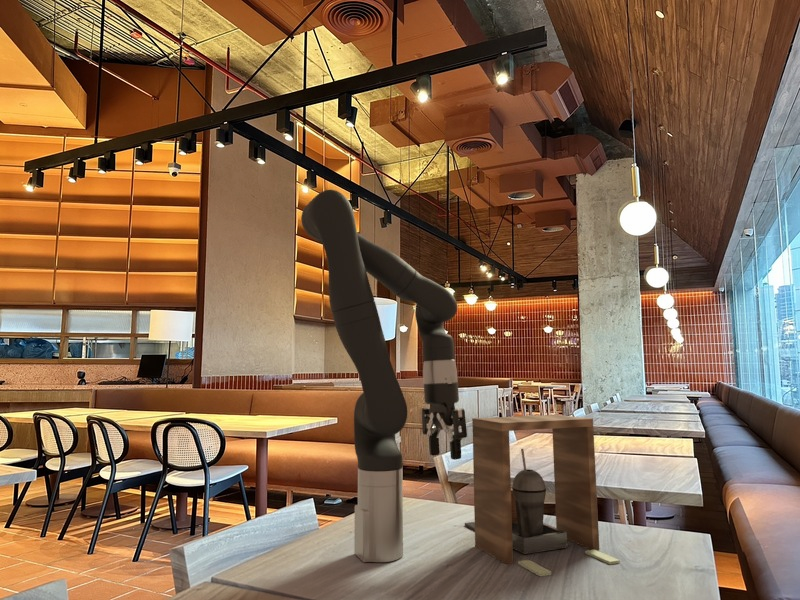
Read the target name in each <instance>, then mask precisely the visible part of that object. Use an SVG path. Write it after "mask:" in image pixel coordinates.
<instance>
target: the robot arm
mask: <svg viewBox="0 0 800 600" xmlns="http://www.w3.org/2000/svg"><path fill="white" fill-rule="evenodd" d="M354 213H355V212H354V210H353V207H352V205H351V203H350V200H348V198H347V197H346V196H345V195H344V194H343V193H342V192H340V191H338V190H336V189H325V190H323V191H320V192H319V193H318V194H317V195H315V196H314V197H313V198H312V199H311V201H309V202H308V203H307V205H306V206H305V207H304V208H303V210H302V213H301V218H300V219H301V221H300V222H301V225H302V228H303V230H304V232H306V234H307V235H308V236H309V237H311V238H312V239H313V240H315V241H317V242H319V243H320V244H322V246H323V249H324V251H325V256H326V261H327V267H328V298H329V305H330V306H329V307H330V312H331V314H332V315H331V316H332V319H333V321H334V326H335V329H336V332H337V334H338V336H339V339H340V341H341V344H342V346H343V348H344V349H345V351H346V353H347V355H348V356H349V358H350V359H351V361H352V363H353V365H354V366H355V369H356V371H357V373H358V376H359V379H360V383H361V387H362V392H363V393H361V394H360V396H358V398H357V400H356V402H355V406H354V410H353V433H354V434H353V435H354V437H353V438H354V450H355V451H354V452H355V455H356V458H357V504H355V505H354V542H353V543H354V544H353V545H354V546H353V547H354V555H355V556H357V558H359V559H360V560H361V562H363V563H367V562H369V563H371V562H372V563H387V562H392V561H396V560H399V559H400V558H402V557H403V555H404V515H403V514H404V509H403V506H404V505H403V503H404V502H403V501H404V498H403V497H404V495H403V494H404V493H403V492H404V490H403V488H404V487H403V482H404V479H403V454H402V452H401V451H400V449H399V447H398V445H397V441H396V434H399V433H400V432H401V431H402V430H403V429H404V427H405V425H406V423H407V421H408V413H409V412H408V404H407V402H406V398H405V396H404V392H403V391H402V388H401V385H400V383H399V381H398V378H397V375H396V373H395V371H394V370H395V369H394V368H393V365H392V362H391V358H390V355H389V354H390V353H389V351H388V346H387V342H386V339H385V334H384V331H383V328H382V324H381V320H380V316H379V311H378V309H377V304H376V301H375V297H374V294H373V291H372V287H371V284H370V280H369V277H368V274H369V275H370V276H371V277H372V278H374V279H375V280H377V281H378V282H379V283H380V284H381V285H383V286H384V287H385V288H386V289H387V290H389V291H390V292H391V293H392V294H394V295H395V296H396V297H398V298H399V299H400V300H401V301H404V302H413V303H415V304H416V305H415V310H414V311H415V312H414V313H415V321H416V325H417V329H418V333H419V336H420V338H421V341H422V360H423V369H422V381H423V396H424V397H423V398H424V399H423V400H424V403H425V404H426V405H429V407H423V408H422V409H421V425H422V427H421V429H422V430H421V432H422V434H423V436H424V435H426V438H427V439H428V447H429V448H428V450H429V455H430V456H433V457H434V456H438V455H440V453H441V452H440V451H441V450H440V439H439V436H440V433H441V431H442V430H443V432H444V433H446V434H447V436H448V439H449V451H450V459H451V460H461V458H462V443H461V442H462V440H463V439H465V438H467V437H468V430H467V421H466V420H467V419H466V410H465V409H464V408H456V406H455V404H457V403H458V402H459V400H460V398H459V397H460V395H459V382H458V370H457V364H456V355H455V342H454V338H453V337H452V335H450V334H449V333H446V329H445V326H444V323H446V322H449V321H450V320H452V319H453V318H455V316H456V315H457V312H458V302H457V300H456V298H455V296H454V295H453V294H452V293H451V291H449V290H448V289H447V288H445V287H444V286H442V285H441V284H438V283H437V282H435V281H434V280H432V279H429V278H427V277H425V276H423V275H422V274H420V273H419V271H417V270H416V269H415V268H414V267H412V265H410V264H409V263H408V262H406V261H405V260H404V259H402V258H401V257H400V256H398V255H397V254H395V253H393V252H392V251H390V250H388V249H386V248H384V247H382V246H380V245H378V244H376V243H374V242H372V241H370V240H368V239H367V238H366V237H364V236H363V235H361V234H360V233H359V232H358V231H357V226H356V224H357V223H356V218H355V214H354ZM460 428H461V429H460ZM460 430H461V431H460Z"/></svg>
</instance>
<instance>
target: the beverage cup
mask: <svg viewBox="0 0 800 600" xmlns="http://www.w3.org/2000/svg"><path fill="white" fill-rule="evenodd" d="M520 451H521V458H522V465H523V470H521V471H519V472H518V473H517V474H516V475H515V476H514V478H513V481H512V486H511V488H512V490H513V495H514V499H515V504H516V513H517V522H518V531H519V534H520V535H522V536H524V537H527V536H535V535H542V534H543V523H544V514H545V512H544V509H545V499H546V495H547V494H546V492H547V487H546V483H545V481H544V479H543V476H542V475H541V474H540V473H539V472H538V471H536V470H534V469H530V468H528V469H527V466H526V465H527V463H526V458H525V453H524V448H520Z"/></svg>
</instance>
